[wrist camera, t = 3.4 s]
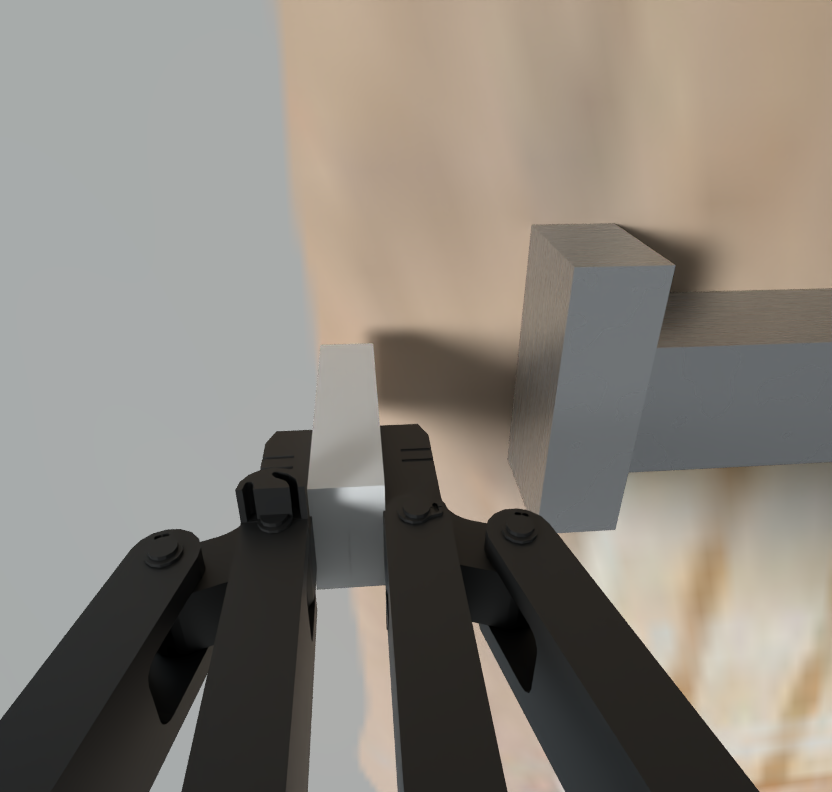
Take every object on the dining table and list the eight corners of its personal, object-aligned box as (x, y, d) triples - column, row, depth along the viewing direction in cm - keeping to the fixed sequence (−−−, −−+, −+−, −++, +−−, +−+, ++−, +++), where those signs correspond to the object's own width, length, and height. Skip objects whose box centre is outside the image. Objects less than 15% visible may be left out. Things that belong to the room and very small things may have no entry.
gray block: (530, 224, 18) (574, 267, 14) (924, 218, 19) (1052, 257, 16) (506, 457, 22) (536, 534, 19) (830, 442, 23) (914, 511, 20)
